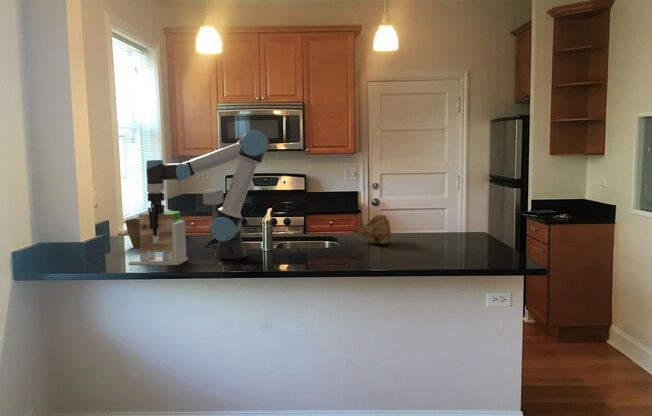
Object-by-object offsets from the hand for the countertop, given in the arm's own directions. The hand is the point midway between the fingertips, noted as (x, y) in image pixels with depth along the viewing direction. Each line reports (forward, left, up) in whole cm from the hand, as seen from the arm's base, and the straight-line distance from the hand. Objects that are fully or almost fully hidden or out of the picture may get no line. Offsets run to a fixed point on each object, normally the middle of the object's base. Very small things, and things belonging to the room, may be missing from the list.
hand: (157, 241), depth 253 cm
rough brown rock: (-57, -103, -10) cm, 118 cm away
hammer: (+28, -60, -10) cm, 67 cm away
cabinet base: (0, 0, -10) cm, 10 cm away
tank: (+58, -43, -10) cm, 73 cm away
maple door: (0, 0, -5) cm, 5 cm away
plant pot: (+42, -19, -10) cm, 47 cm away
